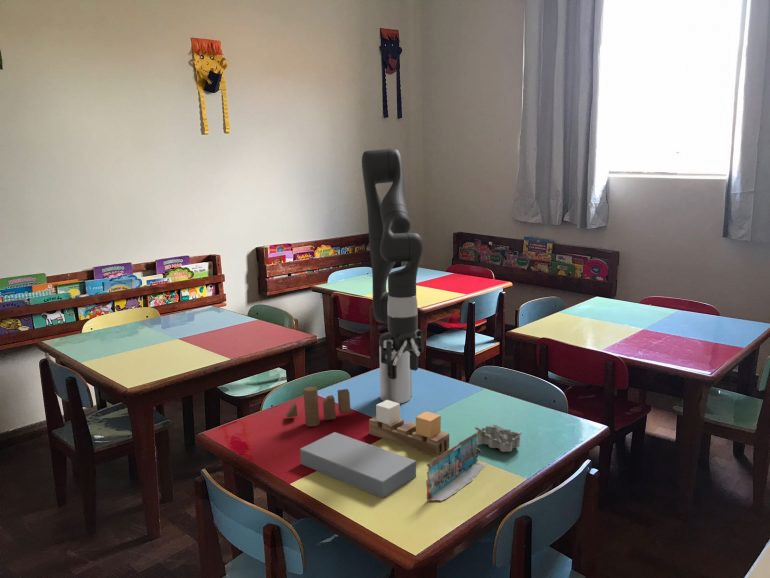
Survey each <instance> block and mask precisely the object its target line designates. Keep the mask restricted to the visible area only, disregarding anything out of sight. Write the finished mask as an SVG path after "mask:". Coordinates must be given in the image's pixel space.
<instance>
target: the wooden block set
mask: <svg viewBox="0 0 770 578" xmlns="http://www.w3.org/2000/svg"><path fill="white" fill-rule="evenodd" d="M318 395H319V393H318V388H317V387H316V386H308V387H305V388H304V389H303V404H304V405H303V407H304V417H305V425H306V426H307V427H310V428H311V427H312V428H314V427H317V426H319V425H320V423H321V422H320V411H319V409H320V407H319V396H318ZM350 397H351V396H350V390H349V389H348V388H344V389H337V405H338V406H337V407H338V411H339V413H340V414H345V413H346V414H347V413H351V401H350V400H351V398H350ZM335 401H336V399H335V396H334V395H332V394H331V395H327V396H326V397H325V399H323V401H322V409H323V418H324V421H328V420H336V418H337V416H336V414H337V413H336V402H335ZM285 416H286V418H293V417H298V407H297V402H296V401H295V402H294V403H293V404H292V406H291V407H290V408H289V410H288V411H287V412H286V415H285Z"/></svg>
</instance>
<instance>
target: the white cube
mask: <svg viewBox="0 0 770 578" xmlns="http://www.w3.org/2000/svg"><path fill="white" fill-rule="evenodd" d="M375 408H376V409H375V410H376V411H375V412H376V413H375V414H376V415H375V416H376V421H379V422H382V423H385V424H388V425H391V424H393V423H394V422H396V421H398V420H400V419H401V403H396V402H393V401H389V400H385V401H381V402H379V403H377V404H375Z"/></svg>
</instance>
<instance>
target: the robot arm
mask: <svg viewBox="0 0 770 578" xmlns="http://www.w3.org/2000/svg"><path fill="white" fill-rule="evenodd" d="M361 170H362V177H363V178H362V179H363V185H364V192H365V200H366V208H367V209H366V210H367V222H368V223H367V224H368V225H367V227H368V228H367V229H368V242H369V253H370V261H371V272H372V274H371V275H372V313H373V317H374V319H375V321H376V322H377V323H383V324H387V331H388V332H384V333H381V334H380V336H379V338H378V344H379V345H378V346H379V348H378V350H379V351H378V352H379V353H378V354H379V389H380V390H379V393H380V394H379V397H380V401H381V402H383V401H385V400H389V401H393V402H396V403H399V404H403V403H404V404H405V403H406V402H409V401H410V400H411V397H412V396H413V384H412V383H413V381H412V380H413V379H412V378H413V375H412V374H413V371H415V372H416V371H417V370H419V356H420V355H421V353H424V351H425V344H424V343H425V339H424V330H422V329H419V328H418V324H419V323H418V321H419V320H418V300H417V298H418V297H417V276H418V269H419V266H420V262H421V259H422V255H423V251H424V242H423V238H422V236H421V235H420V234H418V233H416V232H409V231H410V229H411V218H410V215H409V211H408V206H407V201H406V186H405V183H406V182H405V173H404V163H403V159H402V155H401V153H400V151H399V150H398V149H396V148H383V149H372V150H364V152H363V153H362V157H361ZM387 183H392V184H391V186H390V188H389V189H388V191H387V193H386V194H385V195H384V197H383V198H382V199H381V198H380V195H379V193H378V191H377V186H376V185H377V184H379V185H380V184H387ZM401 262H402V263H403V262H404V263H405V262H406V265H405V266H404V267H403V268H400V269H398V270H395V271H394V270H393V271H392V269H393V267H394V266H395V265H396V263H401Z"/></svg>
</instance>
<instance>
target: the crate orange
mask: <svg viewBox="0 0 770 578" xmlns="http://www.w3.org/2000/svg"><path fill="white" fill-rule="evenodd" d="M441 421H442V420H441V415H440V414H437V413H433V412H431V411H424V412H421V413H420V414H418V415H417V416H415V423H416V434H419V435H422V436H425V437H428V438H432V437H433V436H435V435H437V434H438V433H440V432H441V431H442V430H441V428H442V427H441V425H442V422H441Z"/></svg>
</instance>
